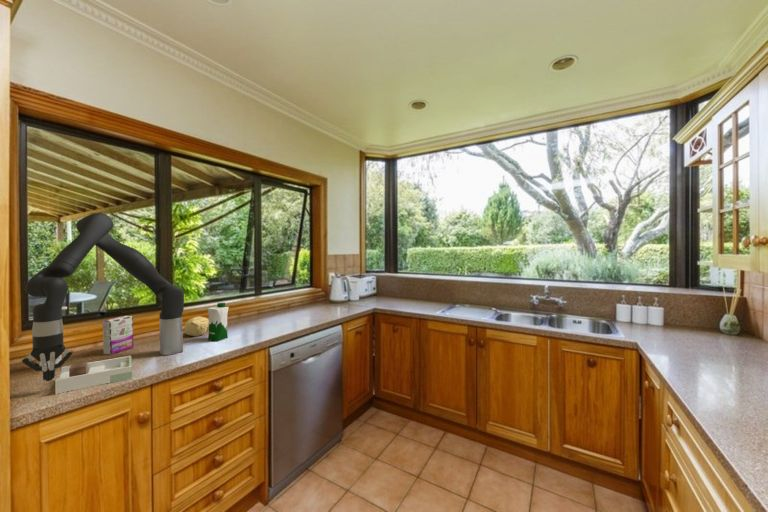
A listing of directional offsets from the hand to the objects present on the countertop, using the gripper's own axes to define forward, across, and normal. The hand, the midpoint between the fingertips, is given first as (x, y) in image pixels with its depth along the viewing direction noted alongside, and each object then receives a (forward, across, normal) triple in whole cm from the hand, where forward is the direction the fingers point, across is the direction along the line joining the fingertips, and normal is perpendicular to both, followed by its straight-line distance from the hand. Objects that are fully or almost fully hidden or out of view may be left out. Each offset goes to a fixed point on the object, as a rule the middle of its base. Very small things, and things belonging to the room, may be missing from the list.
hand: (49, 380), depth 112 cm
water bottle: (+4, +2, -31) cm, 32 cm away
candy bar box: (+4, -19, -39) cm, 44 cm away
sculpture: (+4, -54, -48) cm, 72 cm away
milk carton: (+4, -62, -32) cm, 70 cm away
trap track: (+4, -13, -3) cm, 14 cm away
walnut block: (+1, -8, 0) cm, 8 cm away
